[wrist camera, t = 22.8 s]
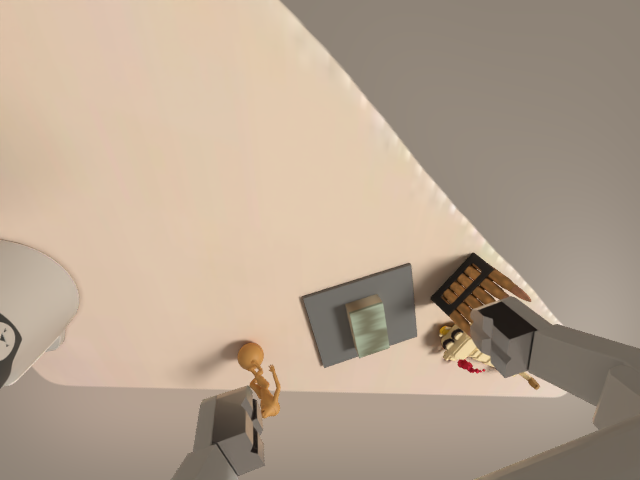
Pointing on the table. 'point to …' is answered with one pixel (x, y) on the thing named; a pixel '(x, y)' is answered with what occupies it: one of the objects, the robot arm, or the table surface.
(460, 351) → the cat figure
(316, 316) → the rubber mat
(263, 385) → the figurine
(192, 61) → the table surface
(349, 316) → the pale green streaked tile
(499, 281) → the ammunition clip
